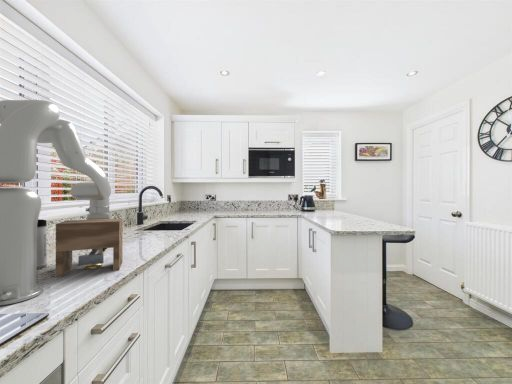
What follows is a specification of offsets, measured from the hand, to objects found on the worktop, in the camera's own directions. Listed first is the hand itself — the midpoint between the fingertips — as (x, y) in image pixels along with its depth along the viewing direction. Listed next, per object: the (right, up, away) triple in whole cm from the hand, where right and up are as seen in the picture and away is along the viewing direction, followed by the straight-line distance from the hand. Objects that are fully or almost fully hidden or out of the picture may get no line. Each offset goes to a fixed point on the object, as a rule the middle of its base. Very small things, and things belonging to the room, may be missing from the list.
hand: (99, 250), depth 111 cm
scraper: (+3, -1, -7) cm, 8 cm away
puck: (+5, -4, -11) cm, 13 cm away
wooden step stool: (+6, -4, -14) cm, 15 cm away
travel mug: (-17, -4, -13) cm, 22 cm away
